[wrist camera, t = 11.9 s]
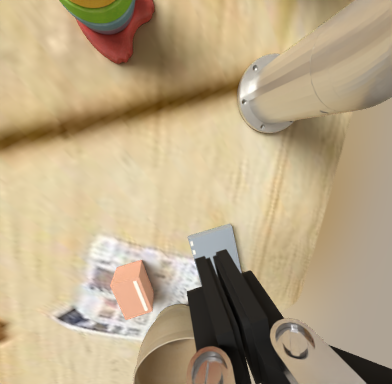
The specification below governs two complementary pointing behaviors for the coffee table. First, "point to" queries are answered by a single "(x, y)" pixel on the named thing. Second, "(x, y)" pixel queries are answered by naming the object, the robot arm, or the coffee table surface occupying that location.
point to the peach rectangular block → (132, 289)
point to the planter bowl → (166, 348)
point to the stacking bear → (111, 23)
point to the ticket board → (214, 244)
